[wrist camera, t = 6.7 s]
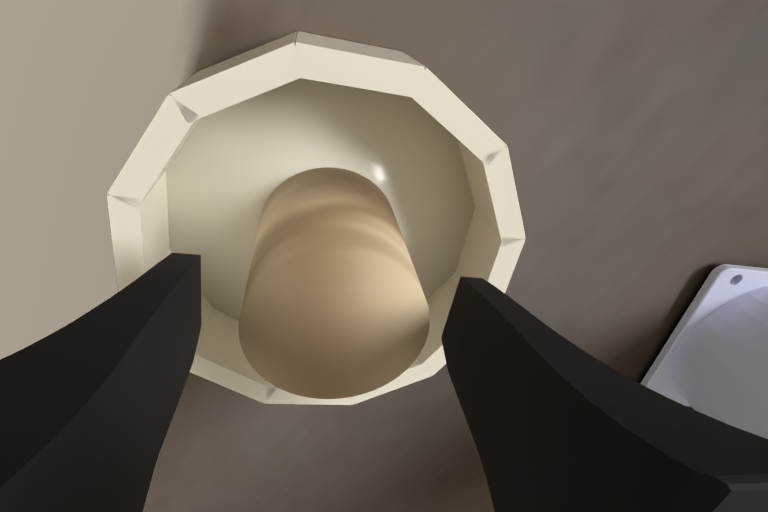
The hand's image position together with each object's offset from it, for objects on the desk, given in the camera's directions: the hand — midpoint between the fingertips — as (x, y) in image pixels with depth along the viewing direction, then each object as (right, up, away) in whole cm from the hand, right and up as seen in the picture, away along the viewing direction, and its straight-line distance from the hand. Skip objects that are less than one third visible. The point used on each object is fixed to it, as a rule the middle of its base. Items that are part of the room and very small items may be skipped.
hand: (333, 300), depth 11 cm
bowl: (-1, +2, +4) cm, 5 cm away
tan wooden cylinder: (-1, +2, +3) cm, 4 cm away
